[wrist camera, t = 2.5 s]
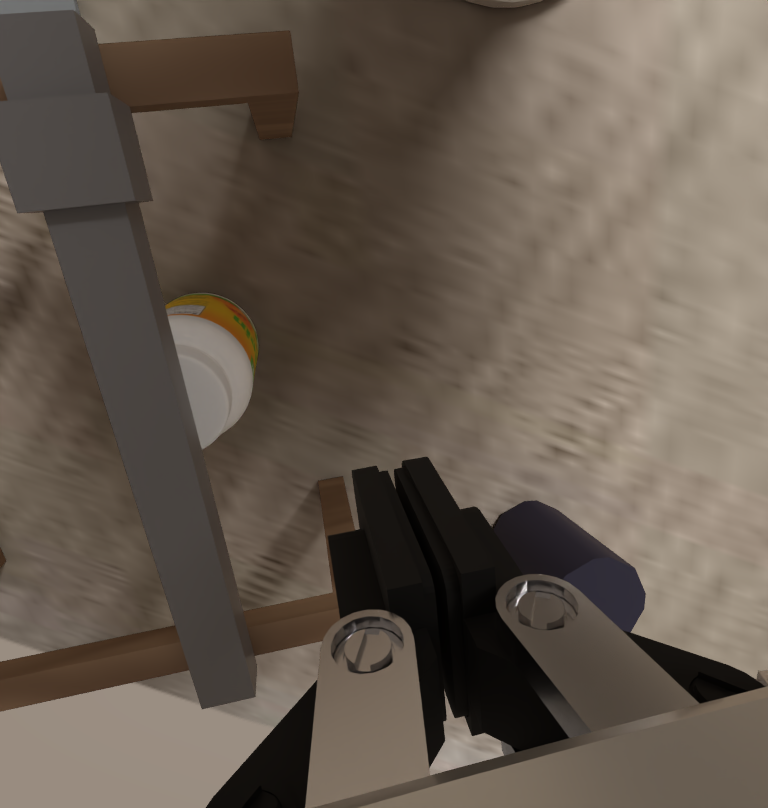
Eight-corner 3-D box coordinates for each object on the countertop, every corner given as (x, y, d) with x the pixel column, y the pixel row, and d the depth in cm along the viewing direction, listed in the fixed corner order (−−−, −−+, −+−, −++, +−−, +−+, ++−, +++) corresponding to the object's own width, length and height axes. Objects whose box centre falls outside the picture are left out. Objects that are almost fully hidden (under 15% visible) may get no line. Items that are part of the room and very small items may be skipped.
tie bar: (-6, 35, 13) (-52, 9, 12) (110, 28, 14) (84, 0, 12) (196, 679, 22) (189, 723, 20) (267, 663, 22) (265, 705, 20)
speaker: (523, 603, 38) (608, 719, 28) (457, 575, 36) (522, 688, 27) (579, 513, 37) (687, 602, 27) (514, 480, 36) (604, 561, 26)
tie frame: (-221, 145, 22) (-642, 95, 12) (286, 101, 25) (289, 30, 15) (-23, 566, 30) (-177, 750, 20) (346, 497, 33) (375, 629, 23)
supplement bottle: (270, 378, 29) (266, 454, 20) (172, 401, 29) (123, 490, 20) (243, 280, 27) (225, 318, 18) (137, 303, 27) (64, 353, 18)
